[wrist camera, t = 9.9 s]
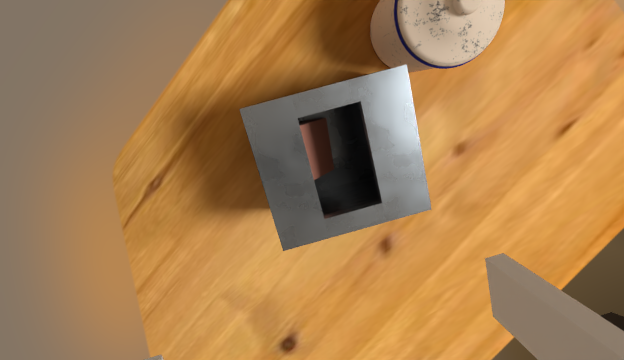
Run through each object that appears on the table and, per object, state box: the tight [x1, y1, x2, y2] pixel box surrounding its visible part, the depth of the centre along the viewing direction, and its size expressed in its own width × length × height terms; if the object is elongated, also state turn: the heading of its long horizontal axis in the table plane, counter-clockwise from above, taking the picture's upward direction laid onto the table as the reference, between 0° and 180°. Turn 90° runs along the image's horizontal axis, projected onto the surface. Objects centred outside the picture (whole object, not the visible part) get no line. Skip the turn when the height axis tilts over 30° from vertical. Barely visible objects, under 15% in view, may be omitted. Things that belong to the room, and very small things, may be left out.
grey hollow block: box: [240, 64, 431, 251], centre depth 31 cm, size 13×12×11 cm
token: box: [299, 118, 334, 180], centre depth 33 cm, size 2×6×6 cm
